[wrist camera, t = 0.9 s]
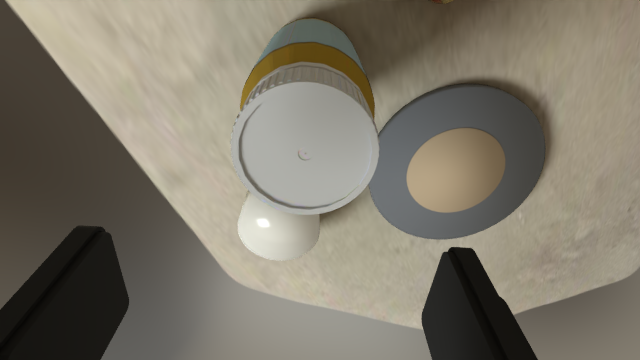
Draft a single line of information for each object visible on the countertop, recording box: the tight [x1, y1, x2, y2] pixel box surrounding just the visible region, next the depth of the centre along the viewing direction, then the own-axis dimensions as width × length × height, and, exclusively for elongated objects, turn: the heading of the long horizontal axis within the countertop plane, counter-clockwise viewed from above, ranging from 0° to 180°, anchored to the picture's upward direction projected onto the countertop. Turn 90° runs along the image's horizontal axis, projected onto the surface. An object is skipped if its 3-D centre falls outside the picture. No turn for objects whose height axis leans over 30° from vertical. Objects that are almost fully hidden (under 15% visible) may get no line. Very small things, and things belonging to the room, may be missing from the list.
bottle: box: [230, 18, 380, 215], centre depth 21 cm, size 7×7×15 cm
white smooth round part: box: [238, 190, 320, 261], centre depth 33 cm, size 7×7×4 cm
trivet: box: [369, 84, 545, 239], centre depth 32 cm, size 15×15×1 cm
